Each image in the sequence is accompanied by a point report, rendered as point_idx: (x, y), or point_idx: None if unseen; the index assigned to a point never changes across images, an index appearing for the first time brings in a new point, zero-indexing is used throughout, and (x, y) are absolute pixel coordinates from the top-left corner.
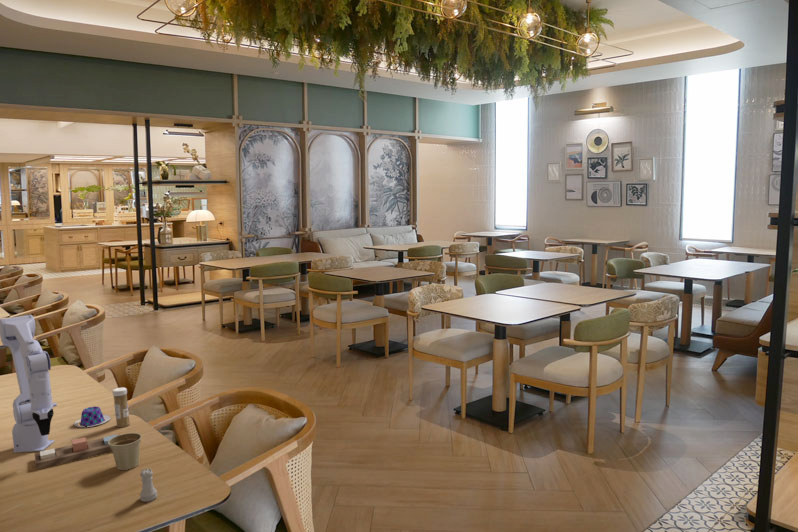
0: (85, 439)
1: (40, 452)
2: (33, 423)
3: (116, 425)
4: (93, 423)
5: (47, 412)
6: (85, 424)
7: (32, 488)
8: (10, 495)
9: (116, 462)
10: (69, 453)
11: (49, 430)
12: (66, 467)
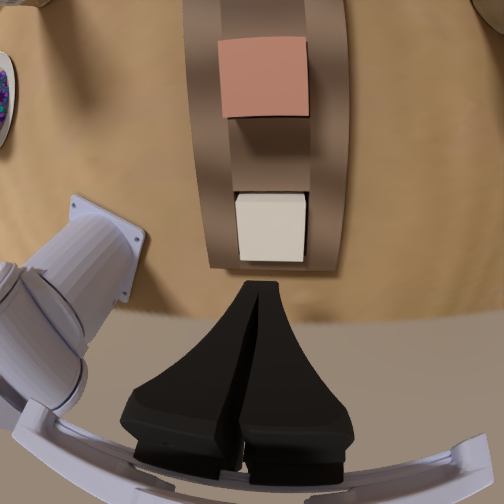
0: (265, 41)
1: (255, 259)
2: (75, 321)
3: (45, 4)
4: (3, 90)
5: (461, 483)
6: (1, 115)
7: (461, 269)
8: (449, 310)
9: None
10: (313, 133)
11: (279, 297)
12: (391, 156)
